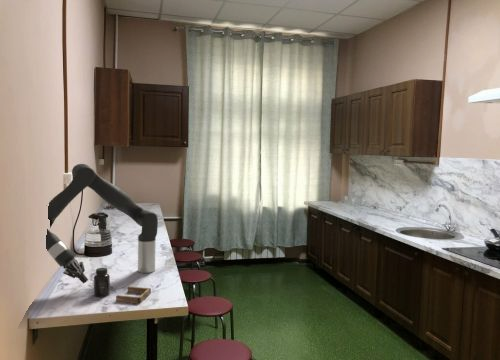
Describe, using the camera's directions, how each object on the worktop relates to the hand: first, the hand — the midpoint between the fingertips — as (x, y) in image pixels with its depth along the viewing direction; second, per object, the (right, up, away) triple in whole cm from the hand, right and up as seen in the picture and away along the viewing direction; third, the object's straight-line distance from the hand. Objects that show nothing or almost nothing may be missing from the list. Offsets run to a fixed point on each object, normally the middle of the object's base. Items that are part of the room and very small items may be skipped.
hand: (85, 281), depth 177 cm
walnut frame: (+22, -6, -2) cm, 23 cm away
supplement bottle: (+7, -6, -1) cm, 10 cm away
